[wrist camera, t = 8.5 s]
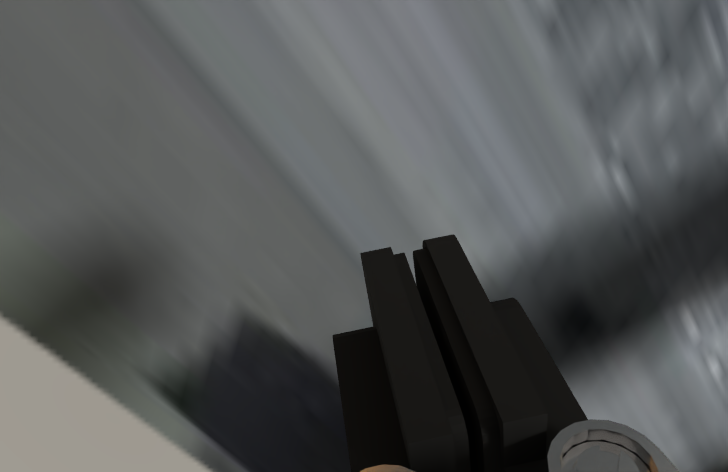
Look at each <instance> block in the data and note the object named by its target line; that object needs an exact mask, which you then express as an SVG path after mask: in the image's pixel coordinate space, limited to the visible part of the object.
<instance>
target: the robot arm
mask: <svg viewBox="0 0 728 472" xmlns="http://www.w3.org/2000/svg"><path fill="white" fill-rule="evenodd" d="M361 260H362V266H363V271H364V277H365V282H366V288H367V293H368V299H369V304H370V310H371V316H372V321H373V327H369V328H365V329H360V330H355V331H350V332H345V333H340V334H336V335H333V344H334V351H335V358H336V365H337V373H338V380H339V387H340V394H341V401H342V408H343V415H344V422H345V429H346V437H347V444H348V451H349V458H350V465H351V472H680V471H679V470H678V469H677V468H676V467H675V466H674V465H673V464H672V462H671V461H670V460H669V459H668V458H667V457H666V456H665V455H664V453H663V452H662V451H661V450H660V449H659V448H658V447H657V446H656V445H655V444H654V443H653V442H651V441H650V440H649V439H648V438H647V437H646V436H645V435H643V434H641V433H639V432H638V431H636V430H634V429H632V428H630V427H628V426H626V425H623V424H619V423H616V422H612V421H609V420H591V419H590V420H588V419H587V417H586V416H585V414H584V412H583V411H582V409H581V407H580V405H579V404H578V402H577V400H576V399H575V397H574V395H573V394H572V392H571V390H570V388H569V387H568V385H567V383H566V382H565V380H564V378H563V376H562V375H561V373H560V371H559V370H558V368H557V366H556V365H555V363H554V361H553V359H552V358H551V356H550V354H549V353H548V351H547V349H546V348H545V346H544V344H543V342H542V341H541V339H540V337H539V336H538V334H537V332H536V330H535V329H534V327H533V325H532V324H531V322H530V320H529V319H528V317H527V315H526V313H525V312H524V310H523V308H522V307H521V305H520V304H519V302H518V301H517V300H516V299H514V298H509V299H505V300H500V301H495V302H490V301H489V299H488V298H487V296H486V294H485V292H484V290H483V288H482V286H481V284H480V282H479V280H478V278H477V276H476V274H475V273H474V271H473V269H472V267H471V265H470V263H469V261H468V259H467V257H466V255H465V253H464V251H463V249H462V247H461V246H460V244H459V242H458V240H457V238H456V236H455V235H448V236H443V237H438V238H433V239H428V240H424V241H423V249H420V250H415V251H413V260H414V268H415V277H416V283H415V281H414V278H413V275H412V272H411V269H410V267H409V264H408V261H407V258H406V256H405V253H400V254H395V255H393V252H392V249H391V247H388V248H384V249H379V250H374V251H369V252H364V253H361ZM416 285H417V286H416Z"/></svg>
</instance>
